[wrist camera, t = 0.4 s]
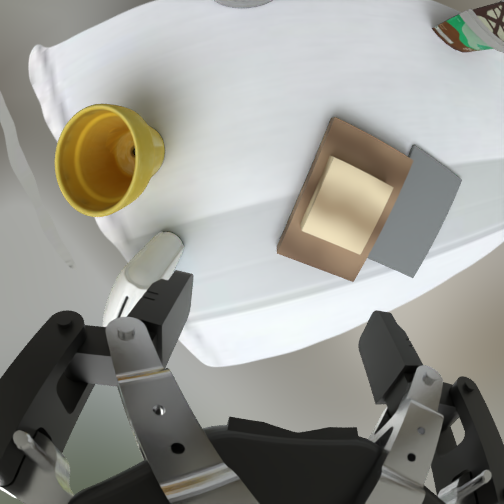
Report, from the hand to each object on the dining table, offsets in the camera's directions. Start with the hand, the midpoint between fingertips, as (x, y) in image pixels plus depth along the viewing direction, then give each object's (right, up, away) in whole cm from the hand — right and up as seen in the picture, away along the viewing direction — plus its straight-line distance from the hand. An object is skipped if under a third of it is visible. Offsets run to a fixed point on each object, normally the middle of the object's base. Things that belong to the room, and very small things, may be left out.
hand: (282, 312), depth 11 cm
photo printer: (-13, +1, +23) cm, 27 cm away
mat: (+19, +7, +18) cm, 27 cm away
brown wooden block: (+9, +8, +18) cm, 22 cm away
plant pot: (-14, +14, +17) cm, 27 cm away
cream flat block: (+8, +8, +16) cm, 20 cm away
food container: (+27, +31, +7) cm, 42 cm away
